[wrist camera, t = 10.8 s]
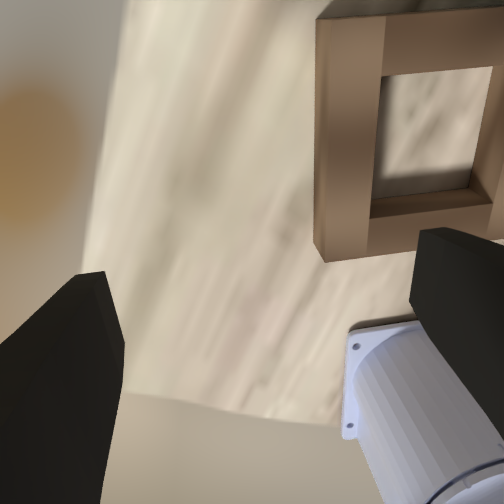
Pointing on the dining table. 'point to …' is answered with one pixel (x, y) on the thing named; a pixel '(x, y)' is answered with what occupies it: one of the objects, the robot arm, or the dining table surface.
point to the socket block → (365, 127)
